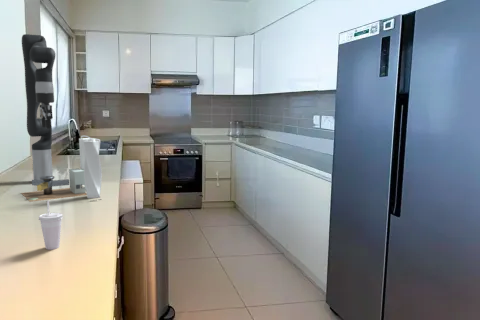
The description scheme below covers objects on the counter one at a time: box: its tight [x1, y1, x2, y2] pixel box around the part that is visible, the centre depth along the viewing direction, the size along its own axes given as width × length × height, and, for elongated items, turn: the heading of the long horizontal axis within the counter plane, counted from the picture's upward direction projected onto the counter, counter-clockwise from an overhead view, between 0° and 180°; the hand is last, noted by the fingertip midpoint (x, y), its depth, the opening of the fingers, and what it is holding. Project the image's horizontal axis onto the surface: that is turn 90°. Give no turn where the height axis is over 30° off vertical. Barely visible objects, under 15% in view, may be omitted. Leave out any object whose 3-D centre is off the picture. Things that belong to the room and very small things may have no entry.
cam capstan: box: [31, 175, 70, 194], centre depth 193 cm, size 16×14×7 cm
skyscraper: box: [80, 134, 103, 202], centre depth 189 cm, size 8×8×28 cm
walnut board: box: [21, 187, 87, 203], centre depth 196 cm, size 21×24×1 cm
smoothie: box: [38, 200, 64, 250], centre depth 127 cm, size 6×6×14 cm
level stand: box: [68, 168, 86, 194], centre depth 200 cm, size 10×4×10 cm, turn 35°
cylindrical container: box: [78, 137, 93, 191], centre depth 206 cm, size 7×7×25 cm
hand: (46, 127), depth 201 cm, fingers open, 8 cm apart
